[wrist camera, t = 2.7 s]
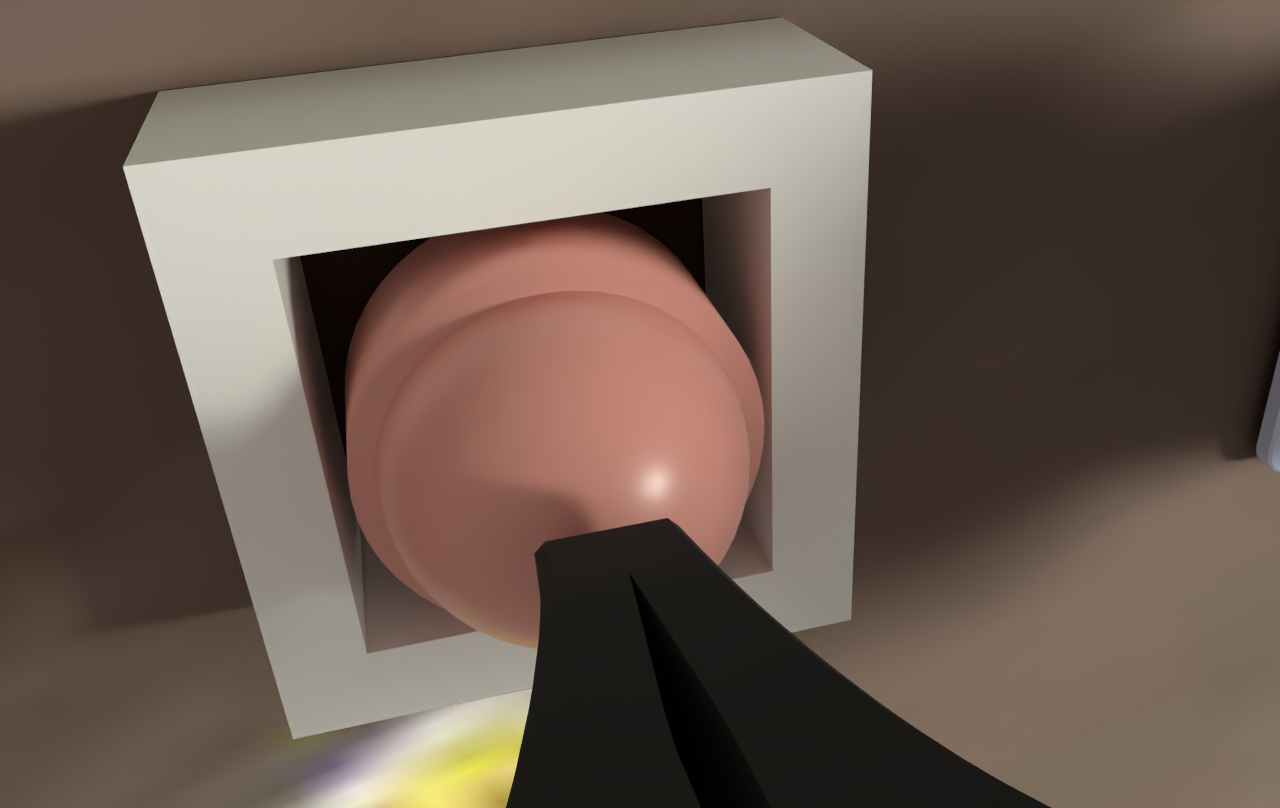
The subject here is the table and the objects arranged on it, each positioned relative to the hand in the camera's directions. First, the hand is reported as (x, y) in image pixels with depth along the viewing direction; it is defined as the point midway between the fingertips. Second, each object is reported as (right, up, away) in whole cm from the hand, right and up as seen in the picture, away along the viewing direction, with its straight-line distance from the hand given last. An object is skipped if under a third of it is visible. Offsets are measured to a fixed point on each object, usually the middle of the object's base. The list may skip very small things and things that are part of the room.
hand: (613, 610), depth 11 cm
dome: (-1, +2, +4) cm, 5 cm away
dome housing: (-1, +3, +5) cm, 6 cm away
